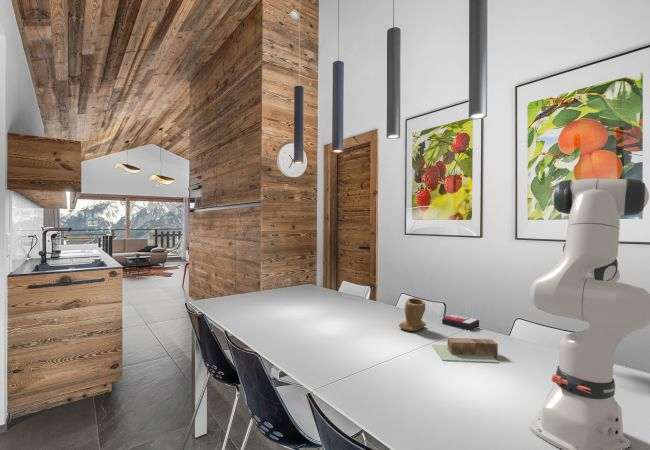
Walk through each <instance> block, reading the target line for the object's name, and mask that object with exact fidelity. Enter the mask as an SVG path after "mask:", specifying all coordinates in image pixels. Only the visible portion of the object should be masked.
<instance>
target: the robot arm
mask: <svg viewBox="0 0 650 450" xmlns="http://www.w3.org/2000/svg"><path fill="white" fill-rule="evenodd" d="M649 192H650V191H649V189H648V187H647V186H646V183H645V182H643V181H642V180H641V179H637V178H628V177H627V178H626V179H625V178H624V179H621V178H599V177H595V178H594V177H593V178H582V179H581V178H580V179H576V180H575V179H573V180H572V179H568V180H563V181H559V182H558V183H557V184H556V185H555V187H554V189H553V192H552V194H551V202H552V204H553V206H554V207H553V208H554V209H555V210H556V211H557V212H559V213H562V214H566V215H569V216H568V221H567V227H566V228H567V230H566V237H565V242H564V243H563V247H562V254H561V257H560V259H559V261H558V262H557V263H556V265H554V267H552V269H551V270H549V271H548V272H546V273H545V274H542V275H540V276H538V277H537V278H535V280H534V281H533V282H532V284H531V285H530V288H529V296H530V300H531V303H532V305H534V307H535V308H536V309H537V310H540V311H542V312H546V313H548V314H550V315H554V316H557V317H563V318H569V319H574V320H579V321H584V322H587V323H588V328H587V329H584V330H580V331H574V332H571V333H570V332H569V333H567V334H564V336H562V338H561V339H560V340H559V360H558V361H559V362H558V365H557V369H556V371H555V373H554V374H552V376H551V381H552V383H553V385H552V387H551V388H550V391H549V392H548V394H547V396H546V398H545V400H544V403H543V404H542V407H541V410H540V411H539V412H538V414H537V415H536V416H535V417H534V419H533V420H532V422H531V423H530V424H529V429H530V430H531V431H532V432H533V433H534V434H535V435H536V436H538V437H540V438H541V439H542V440H544V441H545V442H547V443H549V444H551V445H553V446H555V447H557V448H558V449H560V448H561V450H621V449H624V450H626V449H625V448H627V449H629V448H628V447H630V446H631V447H632V443H631V441H630V440H629V439H628V437H626V436H625V435H624V427H623V410H622V409H623V408H622V407H621V406H620V405H619V403H618V402H617V399H615V392H616V383H615V378H614V377H613V376H614V375H613V373H614V364H615V363H614V361H615V356H616V355H615V354H616V351H617V348H618V347H619V345H620V343H621V342H622V341H623V340H624V339H625V338H626V337H627V336H628V335H630V334H631V333H634V332H636V331H638V330H642V329H644V328H646V327H647V326H649V325H650V292H648V290H647V289H645V288H643V287H639V286H635V285H631V284H627V283H625V282H624V283H623V282H618V281H619V280H620V277H621V274H620V270H619V262H618V256H619V243H620V242H619V240H620V224H621V223H620V220H621V216H625V217H627V216H633V215H639V214H640V213H642V212H643V211H644V208H645V207H646V206H647V204H648V203H649V199H650V194H649ZM631 447H630V448H631Z"/></svg>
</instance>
